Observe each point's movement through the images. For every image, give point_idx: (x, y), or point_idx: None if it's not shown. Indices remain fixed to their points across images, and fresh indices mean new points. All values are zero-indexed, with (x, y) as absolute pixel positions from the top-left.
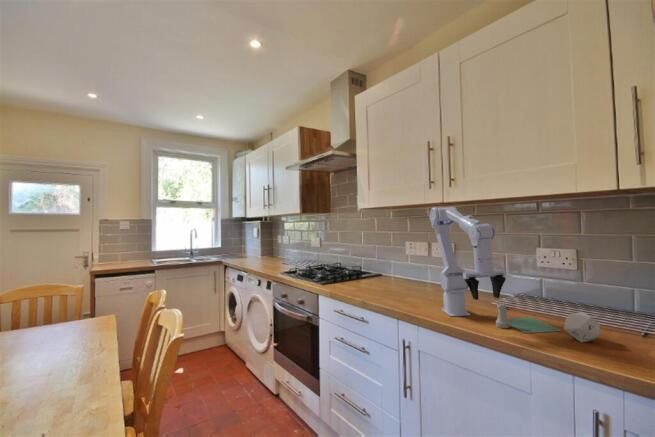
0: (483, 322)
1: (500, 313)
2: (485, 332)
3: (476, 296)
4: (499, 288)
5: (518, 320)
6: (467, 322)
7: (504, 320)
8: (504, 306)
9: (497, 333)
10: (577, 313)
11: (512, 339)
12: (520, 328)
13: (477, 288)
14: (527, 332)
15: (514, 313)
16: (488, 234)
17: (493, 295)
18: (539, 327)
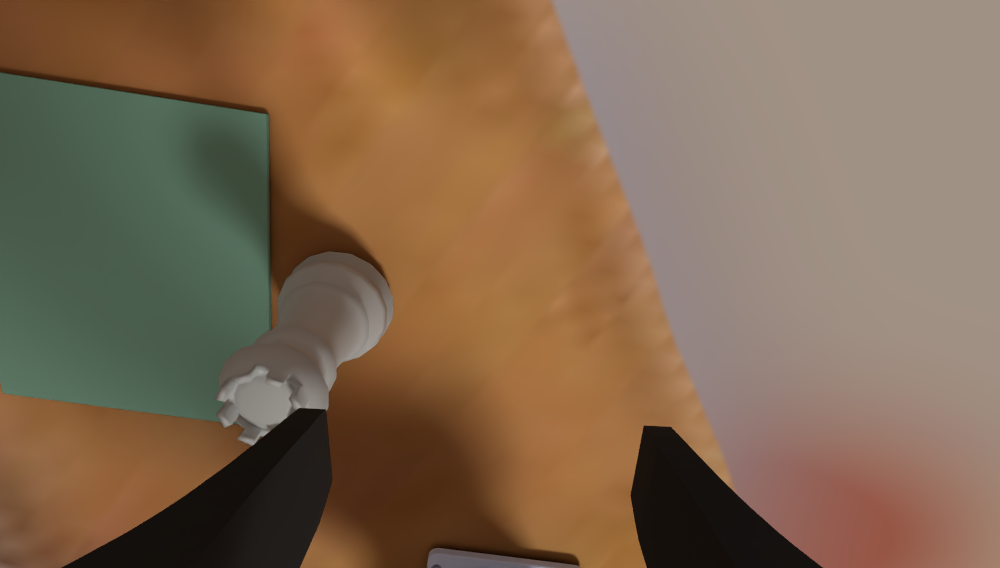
0: (429, 412)
1: (330, 341)
2: (561, 227)
3: (695, 455)
4: (220, 502)
5: (147, 367)
6: (543, 444)
7: (329, 289)
8: (261, 358)
9: (484, 180)
10: None
11: (459, 18)
12: (239, 210)
13: (747, 556)
14: (238, 112)
15: (87, 503)
16: None
17: (325, 498)
18: (70, 185)
